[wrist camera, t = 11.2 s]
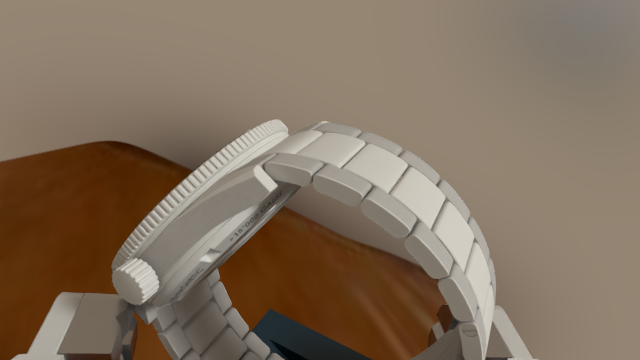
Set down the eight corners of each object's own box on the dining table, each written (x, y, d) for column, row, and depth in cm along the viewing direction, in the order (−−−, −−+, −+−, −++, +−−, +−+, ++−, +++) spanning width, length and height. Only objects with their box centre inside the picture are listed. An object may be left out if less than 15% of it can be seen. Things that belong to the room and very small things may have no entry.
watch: (218, 344, 17) (236, 62, 12) (419, 455, 15) (559, 162, 9) (96, 482, 13) (31, 123, 7) (357, 677, 10) (561, 353, 5)
